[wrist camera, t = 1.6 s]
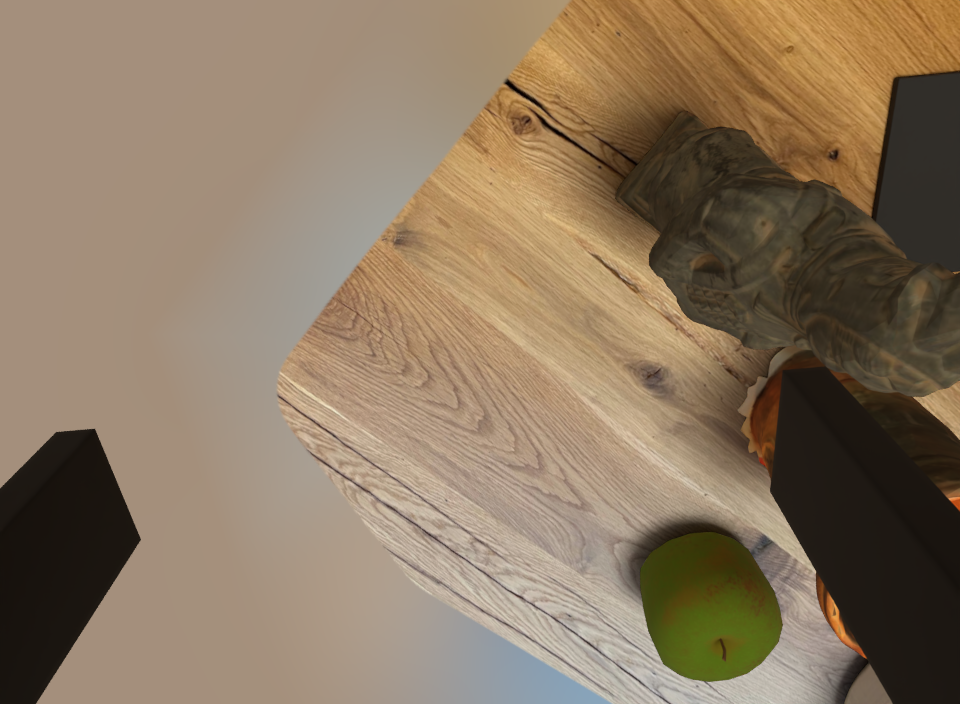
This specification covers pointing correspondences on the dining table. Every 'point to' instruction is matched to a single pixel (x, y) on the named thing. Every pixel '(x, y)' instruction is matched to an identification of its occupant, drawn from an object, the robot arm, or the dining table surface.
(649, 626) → the apple
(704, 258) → the statue
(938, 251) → the mat
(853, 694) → the planter
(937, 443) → the vessel
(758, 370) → the dining table surface
